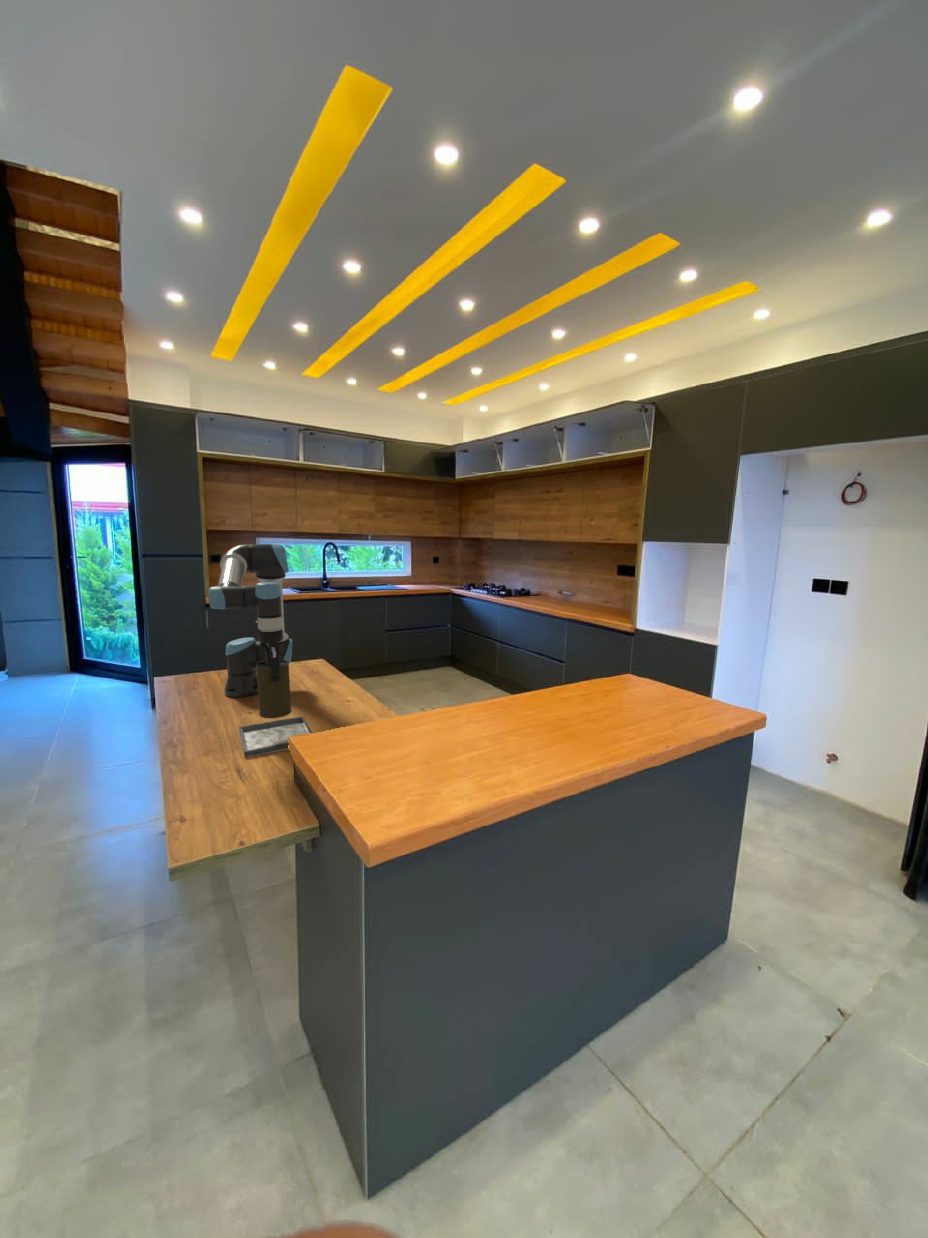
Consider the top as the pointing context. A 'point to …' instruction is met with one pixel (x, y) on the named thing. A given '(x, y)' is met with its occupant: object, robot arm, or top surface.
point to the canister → (273, 690)
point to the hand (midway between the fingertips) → (274, 696)
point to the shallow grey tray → (271, 735)
